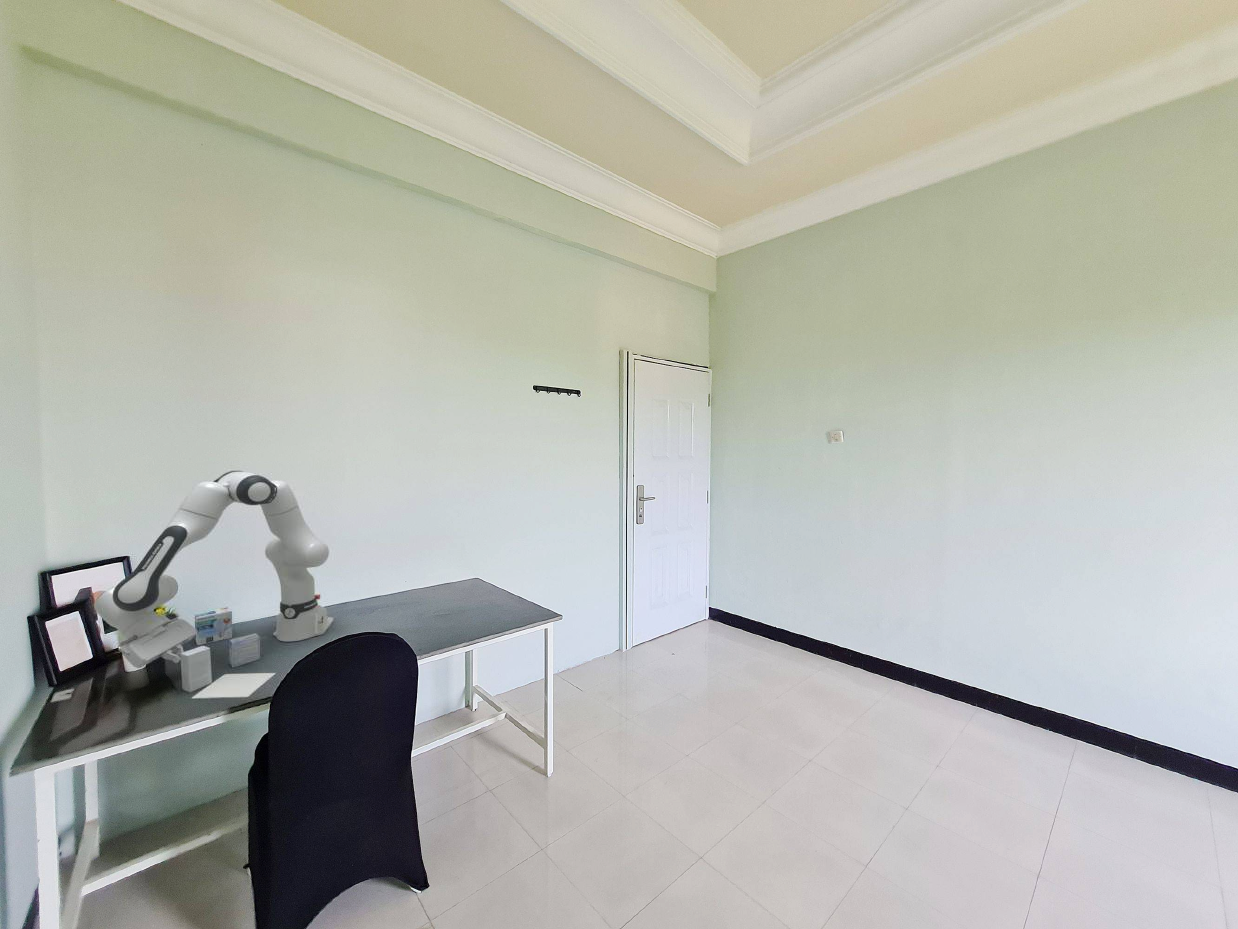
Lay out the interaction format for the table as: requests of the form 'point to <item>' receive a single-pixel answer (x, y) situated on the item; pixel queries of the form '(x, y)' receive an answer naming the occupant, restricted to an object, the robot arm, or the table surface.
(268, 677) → the off-white mat
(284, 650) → the table surface
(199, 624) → the light bulb box
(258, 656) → the medicine box
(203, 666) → the skincare box
